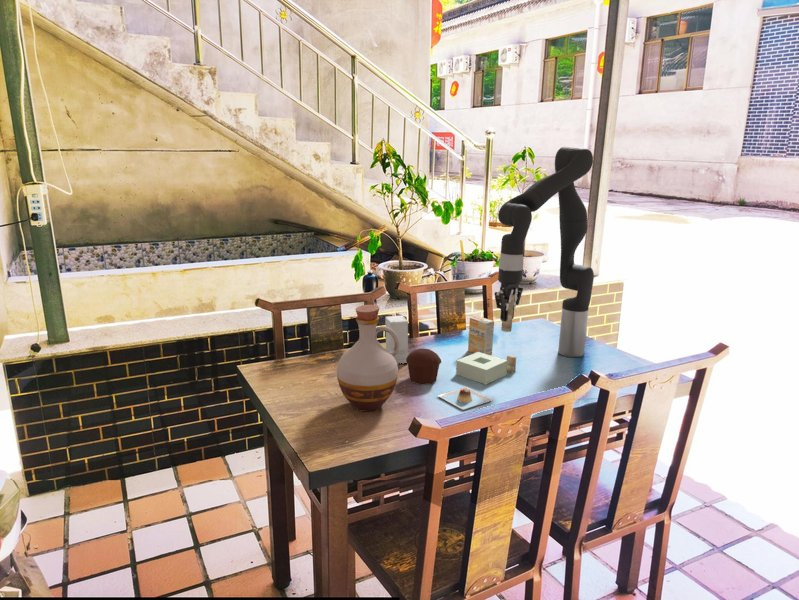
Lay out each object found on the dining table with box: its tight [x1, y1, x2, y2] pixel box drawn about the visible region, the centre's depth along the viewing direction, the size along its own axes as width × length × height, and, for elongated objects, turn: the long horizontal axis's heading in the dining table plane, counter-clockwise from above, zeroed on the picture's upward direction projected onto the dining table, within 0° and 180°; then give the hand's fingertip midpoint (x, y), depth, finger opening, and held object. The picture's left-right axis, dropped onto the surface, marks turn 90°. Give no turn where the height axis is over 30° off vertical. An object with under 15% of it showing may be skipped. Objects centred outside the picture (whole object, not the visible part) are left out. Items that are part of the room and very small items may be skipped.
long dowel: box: [501, 295, 514, 333], centre depth 194 cm, size 3×3×12 cm
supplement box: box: [467, 315, 495, 356], centre depth 220 cm, size 8×5×13 cm, turn 41°
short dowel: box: [506, 354, 517, 373], centre depth 205 cm, size 3×3×5 cm
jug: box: [336, 304, 399, 412], centre depth 173 cm, size 20×18×30 cm
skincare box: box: [384, 314, 409, 365], centre depth 211 cm, size 8×7×16 cm
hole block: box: [455, 352, 507, 385], centre depth 201 cm, size 12×12×5 cm
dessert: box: [437, 386, 493, 411], centre depth 181 cm, size 12×12×5 cm
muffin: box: [406, 348, 442, 386], centre depth 196 cm, size 12×11×10 cm
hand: (506, 319), depth 195 cm, fingers closed on long dowel, 3 cm apart
